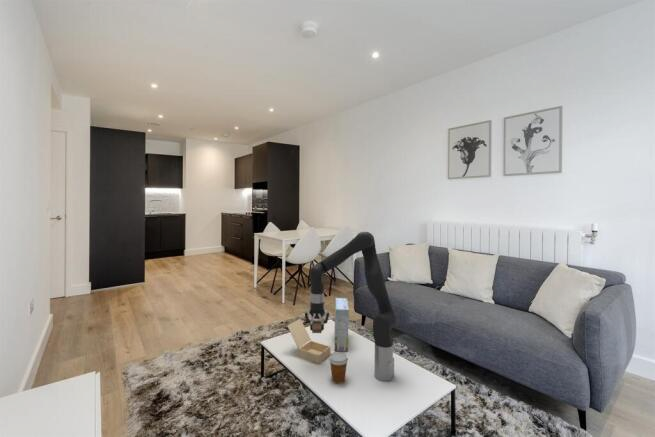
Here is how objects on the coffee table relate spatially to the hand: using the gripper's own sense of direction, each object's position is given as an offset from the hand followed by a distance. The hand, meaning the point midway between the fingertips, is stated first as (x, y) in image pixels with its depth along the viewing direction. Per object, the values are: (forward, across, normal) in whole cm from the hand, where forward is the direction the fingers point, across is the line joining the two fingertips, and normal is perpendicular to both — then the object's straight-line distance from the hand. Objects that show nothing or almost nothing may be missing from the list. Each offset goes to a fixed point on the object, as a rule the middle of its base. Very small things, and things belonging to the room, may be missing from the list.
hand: (316, 330), depth 169 cm
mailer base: (+18, +1, -5) cm, 19 cm away
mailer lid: (+7, +11, -11) cm, 17 cm away
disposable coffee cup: (+18, -12, +18) cm, 28 cm away
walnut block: (+1, 0, 0) cm, 1 cm away
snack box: (+18, -14, -21) cm, 31 cm away
